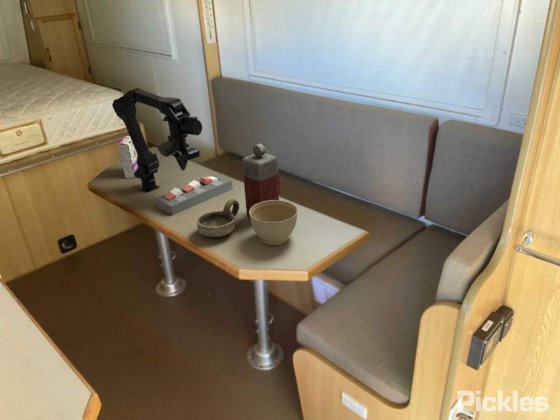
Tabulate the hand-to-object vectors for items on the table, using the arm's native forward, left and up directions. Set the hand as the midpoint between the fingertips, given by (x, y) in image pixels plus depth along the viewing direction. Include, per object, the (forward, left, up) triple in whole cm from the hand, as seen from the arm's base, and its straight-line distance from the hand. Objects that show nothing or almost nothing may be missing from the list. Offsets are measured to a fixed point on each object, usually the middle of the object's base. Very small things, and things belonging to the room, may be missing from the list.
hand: (183, 170), depth 189 cm
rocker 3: (+2, +11, -8) cm, 13 cm away
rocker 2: (+2, +2, -8) cm, 8 cm away
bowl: (+33, -9, -12) cm, 36 cm away
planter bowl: (+51, 0, -12) cm, 52 cm away
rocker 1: (+2, -7, -8) cm, 11 cm away
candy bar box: (-39, -2, -12) cm, 41 cm away
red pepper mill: (+36, +10, -12) cm, 39 cm away
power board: (+4, +2, -12) cm, 12 cm away
